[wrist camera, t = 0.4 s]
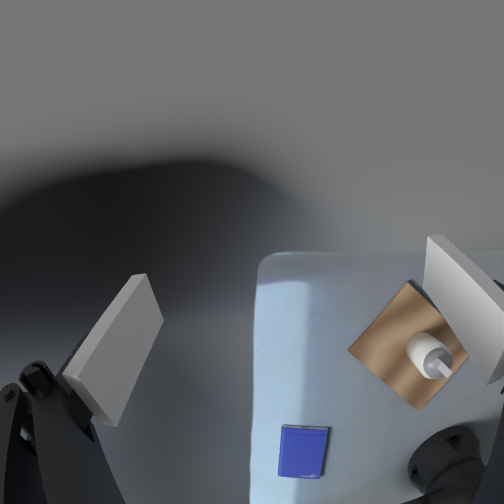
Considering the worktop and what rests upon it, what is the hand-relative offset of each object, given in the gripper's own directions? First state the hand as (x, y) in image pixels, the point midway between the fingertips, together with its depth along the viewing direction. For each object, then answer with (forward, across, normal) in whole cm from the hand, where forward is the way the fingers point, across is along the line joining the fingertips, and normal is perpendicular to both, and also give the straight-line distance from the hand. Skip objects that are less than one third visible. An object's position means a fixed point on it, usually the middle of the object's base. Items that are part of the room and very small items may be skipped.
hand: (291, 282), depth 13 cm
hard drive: (+14, +1, +46) cm, 48 cm away
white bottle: (+20, -19, +27) cm, 39 cm away
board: (+20, -19, +28) cm, 40 cm away
